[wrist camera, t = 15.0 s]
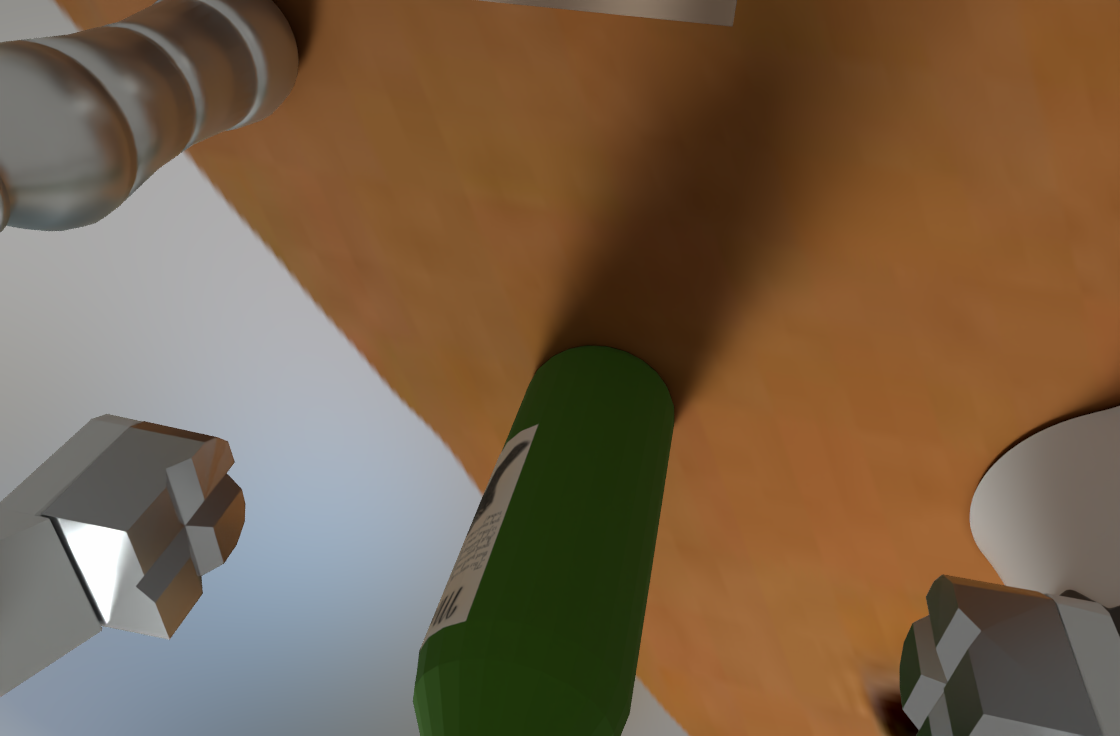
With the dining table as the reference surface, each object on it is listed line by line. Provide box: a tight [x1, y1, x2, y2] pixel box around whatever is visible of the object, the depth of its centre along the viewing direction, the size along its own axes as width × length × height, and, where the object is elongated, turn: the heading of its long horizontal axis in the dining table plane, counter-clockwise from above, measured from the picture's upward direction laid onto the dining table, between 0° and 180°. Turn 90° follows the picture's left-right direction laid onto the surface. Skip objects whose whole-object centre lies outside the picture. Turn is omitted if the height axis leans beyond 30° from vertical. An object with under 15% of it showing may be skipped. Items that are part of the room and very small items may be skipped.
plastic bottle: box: [0, 0, 299, 232], centre depth 31 cm, size 6×7×20 cm
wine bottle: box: [413, 345, 674, 736], centre depth 35 cm, size 9×9×32 cm
